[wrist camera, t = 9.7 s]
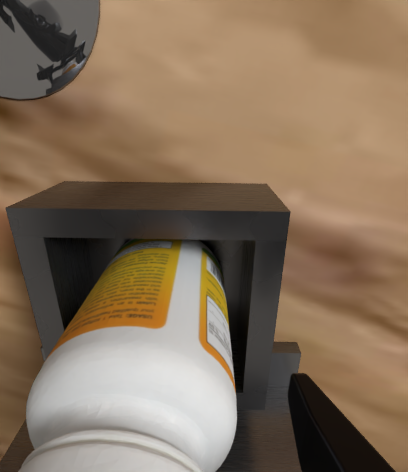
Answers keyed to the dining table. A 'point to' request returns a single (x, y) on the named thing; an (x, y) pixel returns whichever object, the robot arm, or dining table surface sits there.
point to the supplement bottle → (140, 369)
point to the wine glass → (44, 44)
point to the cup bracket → (172, 227)
